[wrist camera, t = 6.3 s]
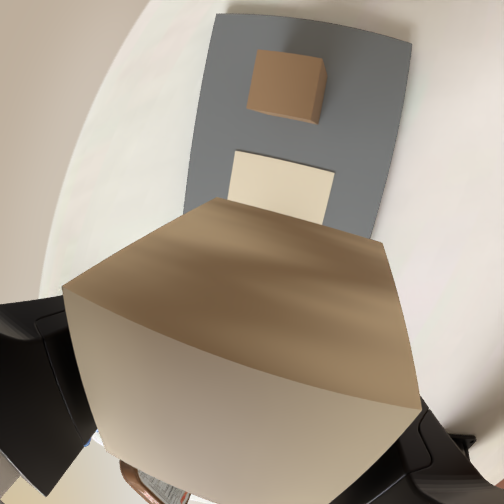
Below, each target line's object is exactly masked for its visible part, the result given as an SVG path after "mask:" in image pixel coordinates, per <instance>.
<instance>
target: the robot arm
mask: <svg viewBox="0 0 504 504" xmlns="http://www.w3.org/2000/svg"><path fill="white" fill-rule="evenodd" d="M420 400H421V407H422V411H421V412H420V413H419V415H418V416H417V417H416V418H415V419H414V421H413V422H412V423H411V424H410V425H409V426H408V428H407V429H406V430H405V431H404V432H403V433H402V434H401V436H400V437H399V438H398V439H397V440H396V441H395V442H394V443H393V444H392V445H391V446H390V448H389V449H388V450H387V451H386V452H385V453H384V454H383V455H382V456H381V457H380V458H379V459H378V460H377V461H376V462H375V463H374V464H373V465H372V466H371V467H370V468H369V469H368V470H367V471H365V472H364V473H363V474H362V475H361V476H360V477H359V478H358V479H357V480H356V481H355V482H354V483H352V484H351V485H350V486H349V487H348V488H347V489H346V490H344V491H343V492H342V493H341V494H340V495H339V496H337V497H336V498H335V499H334V500H332V501H331V502H330V503H329V504H504V489H501V488H498V487H496V486H494V485H492V484H490V483H489V482H488V481H487V480H485V479H484V478H483V477H482V475H481V474H480V473H479V472H478V471H477V469H476V468H475V467H474V466H473V464H472V463H471V462H470V458H469V452H468V449H469V448H470V447H471V446H472V445H473V444H474V443H475V442H476V437H475V436H462V435H450V434H448V433H447V432H446V431H445V429H444V428H443V427H442V425H441V424H440V423H439V421H438V420H437V418H436V417H435V416H434V414H433V413H432V411H431V410H430V409H429V407H428V406H427V404H426V403H425V401H424V400H423V399H422V397H421V396H420ZM428 409H429V410H428ZM96 430H97V426H96V423H95V420H94V417H93V414H92V412H91V409H90V405H89V402H88V399H87V396H86V393H85V390H84V386H83V383H82V379H81V376H80V372H79V368H78V365H77V361H76V357H75V353H74V348H73V344H72V340H71V335H70V330H69V325H68V320H67V315H66V310H65V304H64V298H63V295H61V296H56V297H50V298H44V299H37V300H31V301H23V302H16V303H7V304H0V498H1V497H2V496H3V495H4V494H5V492H6V491H7V490H8V489H9V488H10V487H11V486H12V484H13V483H14V482H15V481H16V480H17V479H18V478H19V476H21V477H22V478H23V479H25V480H26V481H27V482H28V483H29V484H30V485H31V486H33V487H34V488H35V489H36V490H37V491H38V492H40V493H41V494H42V495H44V496H45V497H47V496H48V495H49V493H50V492H51V491H52V489H53V488H54V486H55V485H56V484H57V483H58V481H59V480H60V478H61V477H62V476H63V474H64V473H65V472H66V470H67V469H68V468H69V466H70V465H71V464H72V462H73V461H74V460H75V458H76V457H77V456H78V454H79V453H80V452H81V450H82V449H83V448H84V445H86V443H87V442H88V441H89V439H90V438H91V437H92V435H93V434H94V433H95V431H96ZM0 504H4V503H3V502H2V501H1V500H0Z"/></svg>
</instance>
